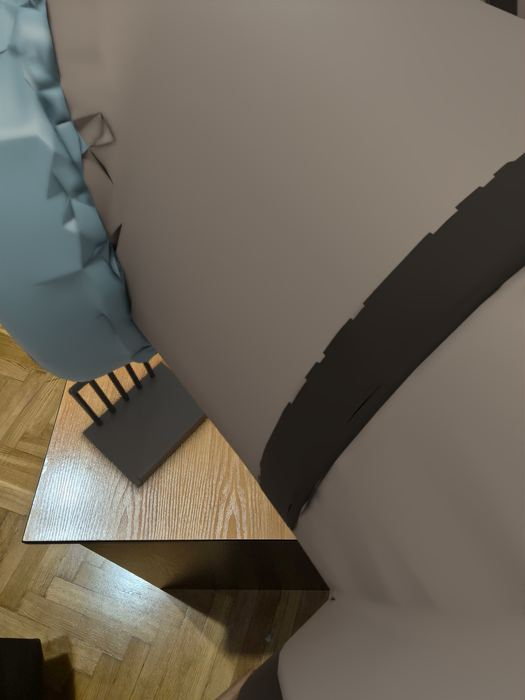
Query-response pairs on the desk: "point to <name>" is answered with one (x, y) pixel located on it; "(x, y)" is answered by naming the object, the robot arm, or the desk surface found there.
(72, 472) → the desk surface
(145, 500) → the desk surface
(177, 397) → the slatted back chair
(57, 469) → the desk surface
